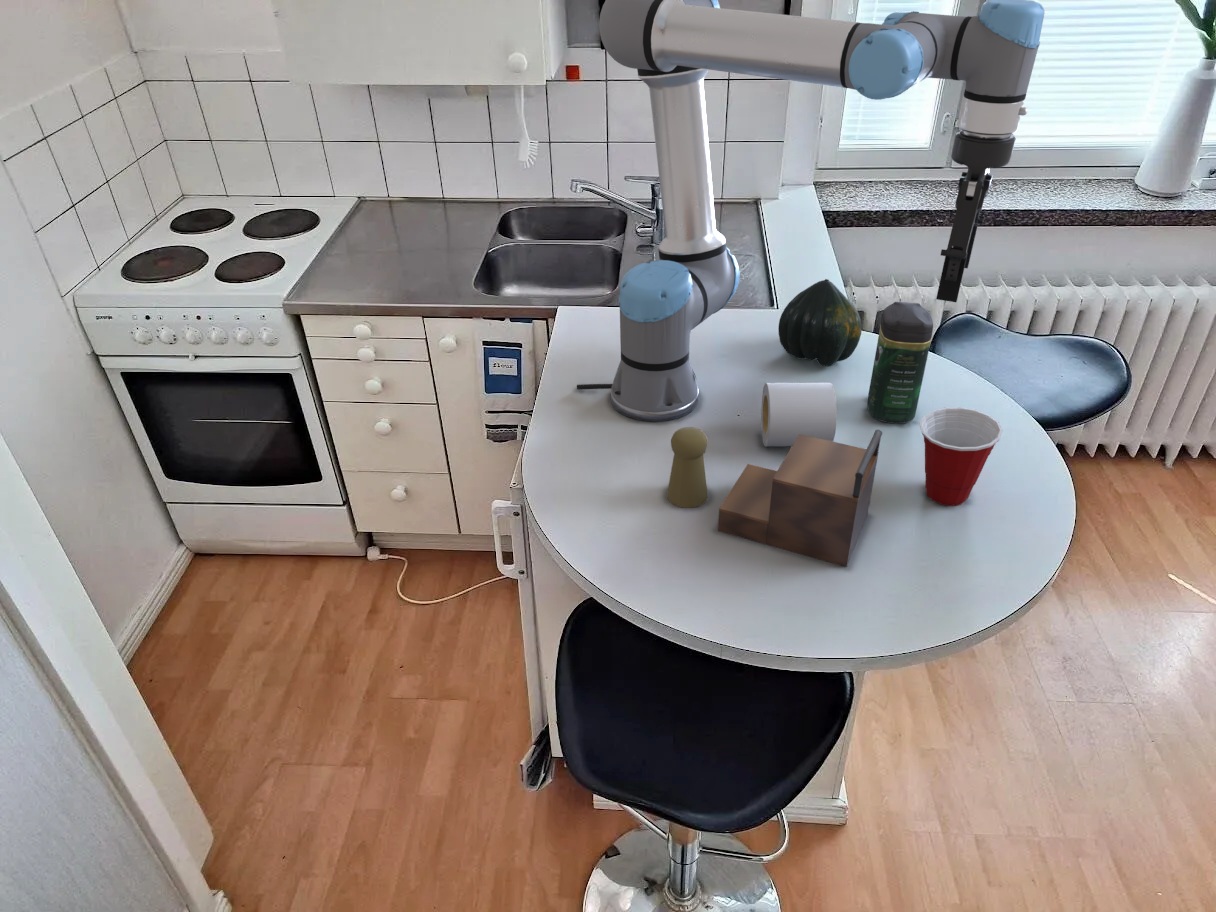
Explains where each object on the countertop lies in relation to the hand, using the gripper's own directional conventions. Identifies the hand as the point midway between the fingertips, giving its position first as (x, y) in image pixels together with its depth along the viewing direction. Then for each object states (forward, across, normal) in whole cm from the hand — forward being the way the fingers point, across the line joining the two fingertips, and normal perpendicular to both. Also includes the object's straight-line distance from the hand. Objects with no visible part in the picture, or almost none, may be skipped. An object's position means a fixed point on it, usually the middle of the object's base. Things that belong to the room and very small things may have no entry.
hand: (952, 282), depth 127 cm
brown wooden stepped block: (+26, -32, +12) cm, 43 cm away
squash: (+26, +21, +22) cm, 40 cm away
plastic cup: (+26, -16, -6) cm, 31 cm away
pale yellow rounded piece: (+26, -31, +28) cm, 50 cm away
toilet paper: (+26, -10, +18) cm, 33 cm away
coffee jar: (+26, +5, +5) cm, 27 cm away
